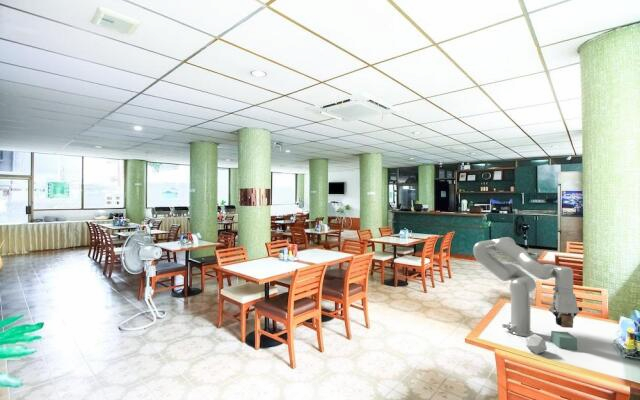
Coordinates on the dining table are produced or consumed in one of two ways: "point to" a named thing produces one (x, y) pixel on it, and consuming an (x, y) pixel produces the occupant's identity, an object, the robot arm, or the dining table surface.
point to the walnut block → (566, 320)
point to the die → (535, 344)
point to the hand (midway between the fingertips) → (564, 324)
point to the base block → (564, 340)
